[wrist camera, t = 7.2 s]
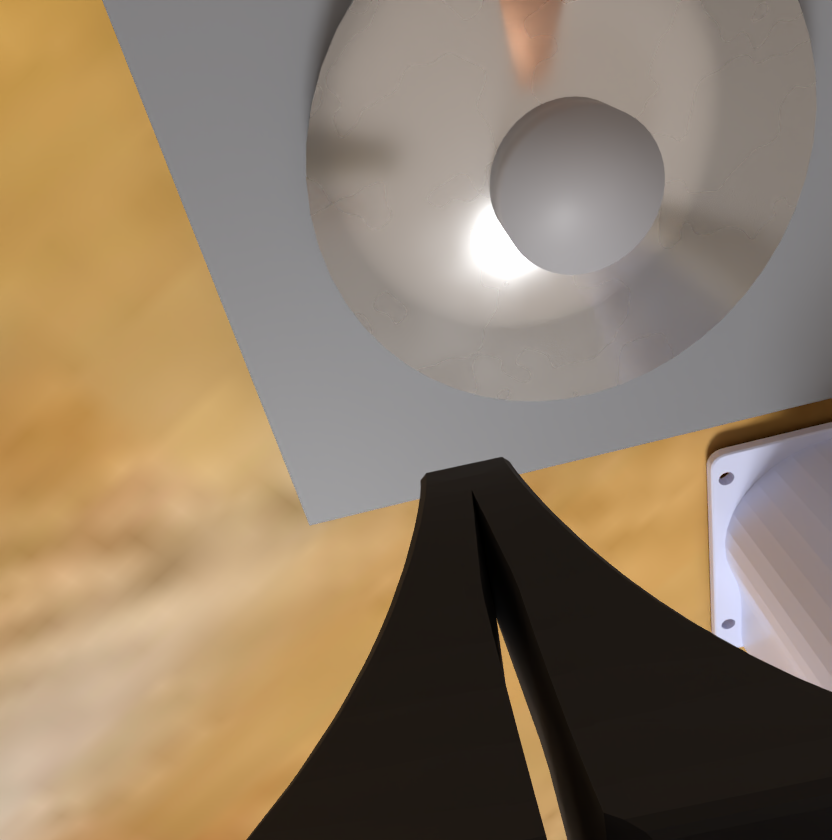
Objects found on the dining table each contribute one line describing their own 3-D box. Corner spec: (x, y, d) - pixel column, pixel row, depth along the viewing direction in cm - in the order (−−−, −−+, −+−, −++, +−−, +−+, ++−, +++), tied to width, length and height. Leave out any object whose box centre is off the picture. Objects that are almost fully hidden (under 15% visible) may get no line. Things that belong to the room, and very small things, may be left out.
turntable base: (856, 372, 24) (940, 434, 20) (310, 506, 24) (306, 587, 21) (931, -428, 14) (1104, -547, 11) (45, -177, 15) (-34, -220, 12)
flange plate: (383, 429, 22) (393, 524, 18) (170, -221, 14) (111, -295, 10) (790, 321, 21) (889, 396, 17) (802, -419, 13) (984, -573, 10)
